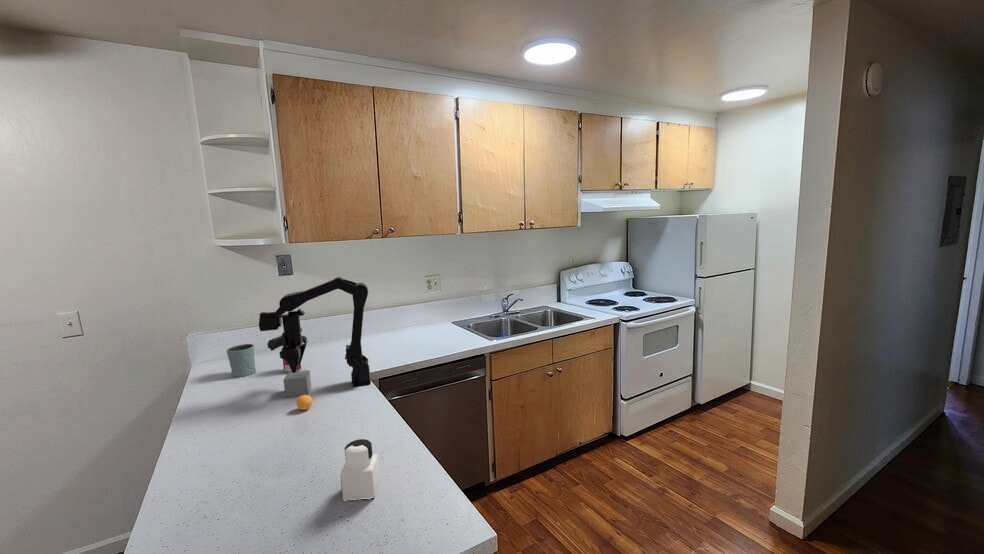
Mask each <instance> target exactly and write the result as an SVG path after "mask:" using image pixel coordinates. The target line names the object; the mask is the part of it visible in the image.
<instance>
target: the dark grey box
mask: <svg viewBox="0 0 984 554" xmlns="http://www.w3.org/2000/svg"><path fill="white" fill-rule="evenodd" d="M286 373H287V372H286ZM283 386H284V387H283V388H284V395H285V398H293V397H300V396H302V395H308V396H309V393H310V391H311V389H312V380H311V371H310V370H306V369H305V370H299V371H297V372H295V373H292V372H288V373H287V374H286V375H285V377H284V379H283Z"/></svg>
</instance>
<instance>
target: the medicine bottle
mask: <svg viewBox="0 0 984 554" xmlns="http://www.w3.org/2000/svg"><path fill="white" fill-rule="evenodd" d="M372 444H373V443H372V442H371V441H370V440H369V439H366V438H360V439H356V440H352V441H350V442H349V443H347V444H346V445H345V447H344V457H345V458H344V459H345V463H344V465H343V468H342V469H341V471H340V483H341V484H340V485H341V494H342V501H343V500H351V499H352V500H353V499H361V498H370V497H374V496H375V497H376V495H375V493H376V494H377V492H376V490H377V491H378V488H377V486H378V487H379V485H378V483H379V484H380V481H379V479H380V480H381V478H380V467H379V454H377V453H375V454H374V453H373V445H372Z"/></svg>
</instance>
